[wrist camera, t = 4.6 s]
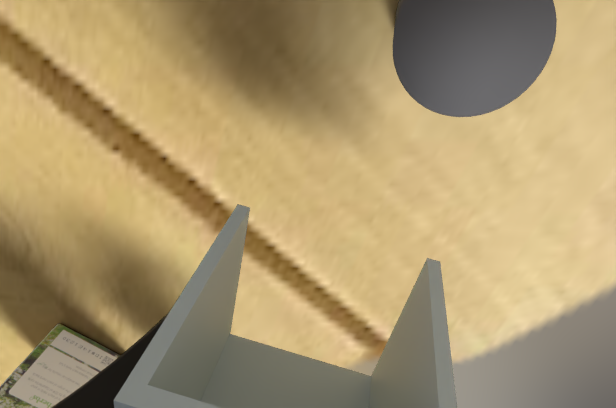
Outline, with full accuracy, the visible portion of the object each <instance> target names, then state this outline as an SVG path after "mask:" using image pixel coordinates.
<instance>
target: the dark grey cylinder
mask: <svg viewBox="0 0 616 408" xmlns="http://www.w3.org/2000/svg"><path fill="white" fill-rule="evenodd" d="M555 35H556V12H555V6H554V3H553V0H399V2H398V6H397V10H396V18H395V28H394V38H393V59H394V65H395V68H396V72H397V75H398V77H399V79H400V81H401V83H402V85H403V86H404V88H405V90H406V91H407V92H408V93H409V94H410V96H411V97H412V98H413V99H415V100H416V101H417V102H418V103H419V104H421V105H422V106H424V107H425V108H427V109H429V110H431V111H433V112H436V113H439V114H442V115H447V116H454V117H471V116H477V115H482V114H485V113H489V112H492V111H494V110H497V109H499V108H501V107H503V106H505V105H507V104H508V103H510V102H512V101H513V100H514V99H516V98H517V97H519V96H520V95H521V94H522V93H523V92H524V91H526V90H527V89H528V88H529V87H530V85H531V84H532V83H533V82H534V81H535V80H536V78H537V77H538V76H539V74H540V73H541V72H542V70H543V68H544V66H545V65H546V63H547V61H548V58H549V56H550V54H551V51H552V48H553V44H554V41H555Z"/></svg>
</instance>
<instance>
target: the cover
mask: <svg viewBox="0 0 616 408" xmlns="http://www.w3.org/2000/svg"><path fill="white" fill-rule="evenodd" d="M249 211H250V208H249V207H246V206H242V205H239V204H238V205H237V206H236V208H235V210H234V211H233V213H232V214H231V216H230V217H229V219H228V221H227V222H226V224H225V225H224V227H223V229H222V230H221V232H220V233H219V235H218V236H217V238H216V240H215V241H214V243H213V244H212V246H211V247H210V249H209V251H208V252H207V254H206V255H205V257H204V259H203V260H202V262H201V263H200V265H199V266H198V268H197V270H196V271H195V273H194V274H193V276H192V277H191V279H190V281H189V282H188V284H187V285H186V287H185V288H184V290H183V292H182V293H181V295H180V296H179V298H178V300H177V301H176V303H175V304H174V306H173V307H172V309H171V311H170V312H169V314H168V315H167V317H166V318H165V320H164V322H163V323H162V325H161V326H160V328H159V329H158V331H157V333H156V334H155V336H154V337H153V339H152V341H151V342H150V344H149V345H148V347H147V348H146V350H145V352H144V353H143V355H142V356H141V358H140V359H139V361H138V363H137V364H136V366H135V367H134V369H133V371H132V372H131V374H130V375H129V377H128V378H127V380H126V382H125V383H124V385H123V386H122V388H121V389H120V391H119V393H118V394H117V396H116V397H115V399H114V408H457V402H456V393H455V385H454V376H453V368H452V359H451V351H450V342H449V334H448V325H447V317H446V308H445V299H444V291H443V282H442V274H441V265H440V262H439V261H436V260H432V259H429V258H427V260H426V262H425V264H424V266H423V268H422V270H421V273H420V275H419V277H418V279H417V281H416V283H415V285H414V287H413V289H412V292H411V294H410V296H409V298H408V300H407V302H406V304H405V306H404V308H403V310H402V313H401V315H400V317H399V319H398V321H397V323H396V325H395V327H394V329H393V331H392V334H391V336H390V338H389V340H388V342H387V344H386V346H385V348H384V350H383V353H382V355H381V357H380V359H379V361H378V363H377V365H376V367H375V369H374V371H373V374H372V376H368V375H365V374H362V373H358V372H355V371H352V370H348V369H345V368H342V367H338V366H335V365H332V364H328V363H325V362H322V361H318V360H315V359H312V358H308V357H305V356H302V355H298V354H295V353H292V352H288V351H285V350H282V349H278V348H275V347H272V346H268V345H265V344H262V343H258V342H255V341H252V340H248V339H245V338H242V337H238V336H235V335H232V334H230V331H231V325H232V319H233V312H234V306H235V300H236V293H237V287H238V281H239V274H240V268H241V262H242V255H243V249H244V243H245V236H246V230H247V224H248V217H249Z"/></svg>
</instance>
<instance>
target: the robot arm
mask: <svg viewBox="0 0 616 408" xmlns="http://www.w3.org/2000/svg"><path fill="white" fill-rule="evenodd" d="M168 314H169V313H168ZM168 314H167V315H168ZM167 315H166V316H165V317H163V318H162V319H161V320H160V321H159V322H158V323H157V324H156V325H155V326H154V327H153V328H152V329H151V330H149V331H148V332H147V333H146V334H145V335H144V336H143V337H142V338H141V339H139V340H138V341H137V342H136V343H135V344H134V345H132V346H131V347H130V348H129V349H128V350H127V351H125V352H124V353H123V354H122V355H121V356H120V357H118V358H117V359H116V360H115V361H113V362H112V363H111V364H110V365H108V366H107V367H106V368H104V369H103V370H102V371H101V372H99V373H98V374H97V375H95V376H94V377H93V378H92V379H90V380H89V381H88V382H86V383H85V384H84V385H82V386H81V387H80V388H78V389H77V390H76V391H74V392H73V393H72V394H70V395H69V396H67V397H66V398H64V399H63V400H62V401H60V402H59V403H57V404H56V405H54V406H53V407H51V408H114V399H115V397H116V396H117V394H118V393H119V391H120V389H121V388H122V386H123V385H124V383H125V382H126V380H127V378H128V377H129V375H130V374H131V372H132V371H133V369H134V367H135V366H136V364H137V363H138V361H139V359H140V358H141V356H142V355H143V353H144V352H145V350H146V348H147V347H148V345H149V344H150V342H151V341H152V339H153V337H154V336H155V334H156V333H157V331H158V329H159V328H160V326H161V325H162V323H163V322H164V320H165V318H166V317H167Z"/></svg>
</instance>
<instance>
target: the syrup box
mask: <svg viewBox="0 0 616 408" xmlns="http://www.w3.org/2000/svg"><path fill="white" fill-rule="evenodd" d="M120 356H121V355H119V354H117V353H115V352H113V351H111V350H109V349H107V348H105V347H104V346H102V345H100V344H98V343H96V342H94V341H92V340H90V339H88V338H86V337H84V336H83V335H81V334H79V333H77V332H75V331H73V330H71V329H69V328H67V327H65V326H63V325H61V324H57V325H56V326H55V327H54V328H53V329H52V330H51V331H50V332H49V334H48V335H47V336H46V337H45V338H44V339H43V340H42V341H41V342H40V343H39V345H38V346H37V347H36V348H35V349H34V350H33V351H32V352H31V353H30V354H29V355H28V357H27V358H26V359H25V360H24V361H23V362H22V363H21V364H20V365H19V366H18V367H17V368H16V369H15V370H14V372H13V373H12V374H11V375H10V376H9V377H8V378H7V379H6V380H5V382H4V383H3V384H2V385H1V386H0V408H51V407H53V406H54V405H56V404H57V403H59V402H60V401H62V400H63V399H64V398H66V397H67V396H69V395H70V394H72V393H73V392H74V391H76V390H77V389H78V388H80V387H81V386H82V385H84V384H85V383H86V382H88V381H89V380H90V379H92V378H93V377H94V376H95V375H97V374H98V373H99V372H101V371H102V370H103V369H104V368H106V367H107V366H108V365H110V364H111V363H112V362H113V361H115V360H116V359H117V358H118V357H120Z"/></svg>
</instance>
